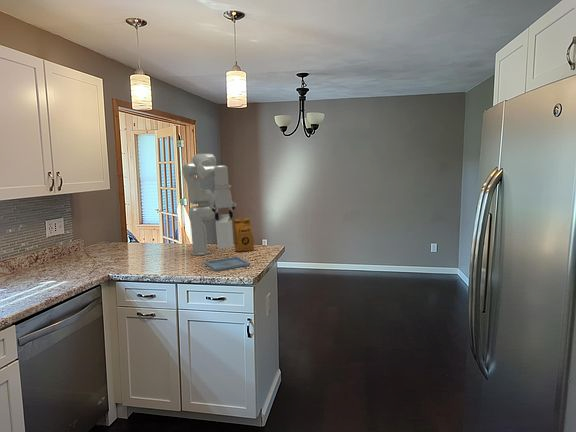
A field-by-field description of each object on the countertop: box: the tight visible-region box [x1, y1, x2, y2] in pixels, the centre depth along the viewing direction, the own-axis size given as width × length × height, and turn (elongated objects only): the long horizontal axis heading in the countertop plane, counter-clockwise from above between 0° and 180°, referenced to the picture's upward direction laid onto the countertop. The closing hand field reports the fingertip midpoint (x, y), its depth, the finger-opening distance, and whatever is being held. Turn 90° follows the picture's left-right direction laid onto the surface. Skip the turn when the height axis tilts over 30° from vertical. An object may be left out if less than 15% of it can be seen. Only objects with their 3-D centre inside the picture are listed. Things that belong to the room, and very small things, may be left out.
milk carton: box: [215, 213, 235, 249], centre depth 221 cm, size 7×7×19 cm
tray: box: [204, 256, 251, 272], centre depth 223 cm, size 20×20×2 cm
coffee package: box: [233, 217, 255, 253], centre depth 261 cm, size 10×12×22 cm
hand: (224, 219), depth 220 cm, fingers closed on milk carton, 7 cm apart
